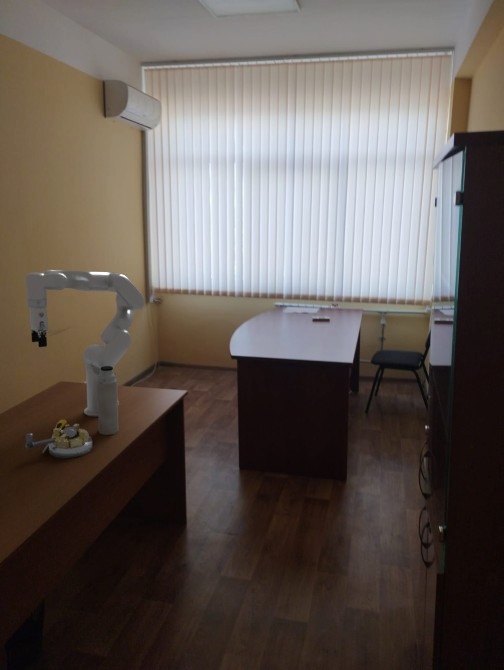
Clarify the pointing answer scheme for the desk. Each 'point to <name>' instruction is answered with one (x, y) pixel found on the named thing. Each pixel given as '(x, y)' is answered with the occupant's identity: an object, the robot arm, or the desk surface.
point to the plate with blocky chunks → (69, 451)
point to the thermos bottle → (107, 401)
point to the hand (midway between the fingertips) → (39, 344)
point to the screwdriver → (60, 425)
